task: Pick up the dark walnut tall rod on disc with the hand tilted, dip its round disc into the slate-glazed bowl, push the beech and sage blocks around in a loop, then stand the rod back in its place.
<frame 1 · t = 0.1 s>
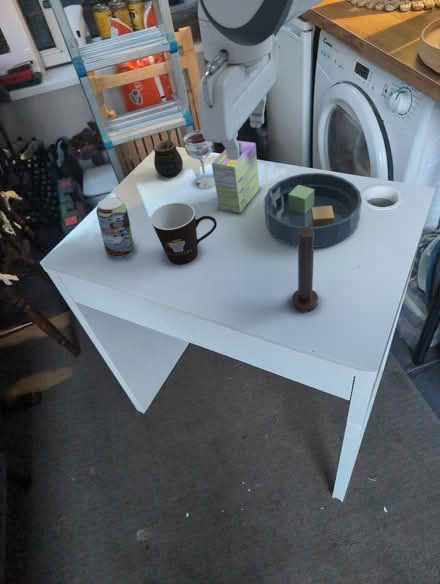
hand: (246, 140, 64), 27 cm above the table, tool pointing down, fingers open, 8 cm apart
wineglass: (205, 182, 108), on the table
tall rod on disc: (305, 302, 77), on the table
box: (239, 199, 101), on the table
beverage can: (124, 250, 94), on the table
bowl: (311, 220, 92), on the table
coffee mug: (189, 256, 90), on the table
beech block: (321, 228, 89), point 1 cm above the table, touching bowl
sage block: (301, 207, 94), point 1 cm above the table, touching bowl
mate gourd: (171, 174, 113), on the table
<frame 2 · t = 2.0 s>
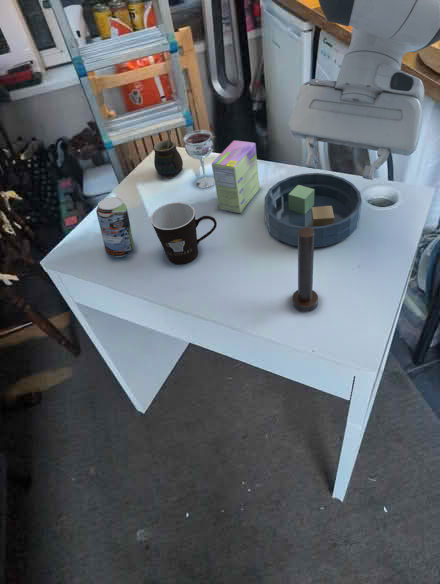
hand: (338, 172, 69), 19 cm above the table, tool tilted 45°, fingers open, 8 cm apart
nothing on the table moved.
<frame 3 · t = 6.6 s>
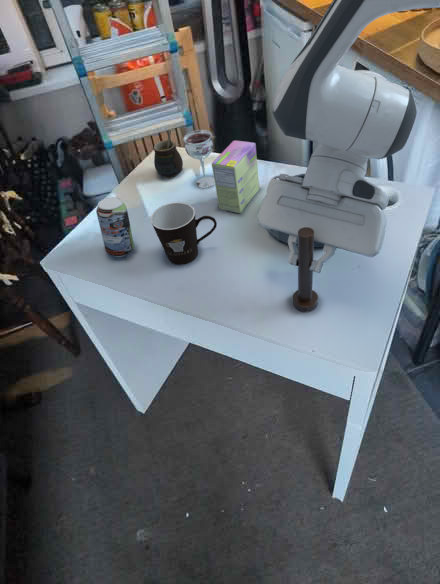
hand: (303, 268, 70), 9 cm above the table, tool tilted 45°, fingers closed on tall rod on disc, 2 cm apart
tall rod on disc: (305, 302, 77), on the table, touching gripper
everything else where it was.
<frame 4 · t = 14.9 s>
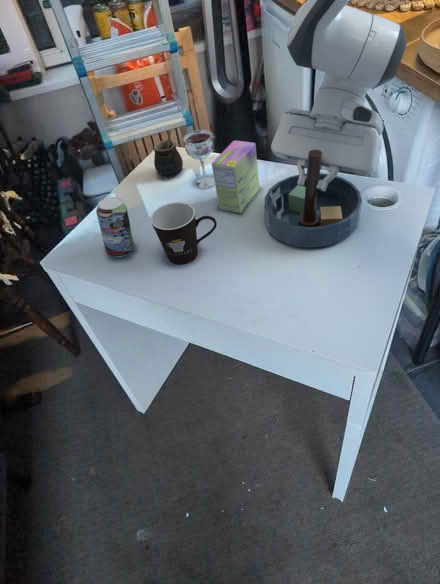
hand: (311, 188, 82), 11 cm above the table, tool tilted 45°, fingers closed on tall rod on disc, 2 cm apart
tall rod on disc: (308, 223, 89), point 2 cm above the table, touching beech block, gripper
beech block: (329, 228, 88), point 1 cm above the table, touching bowl, tall rod on disc
everything else where it was.
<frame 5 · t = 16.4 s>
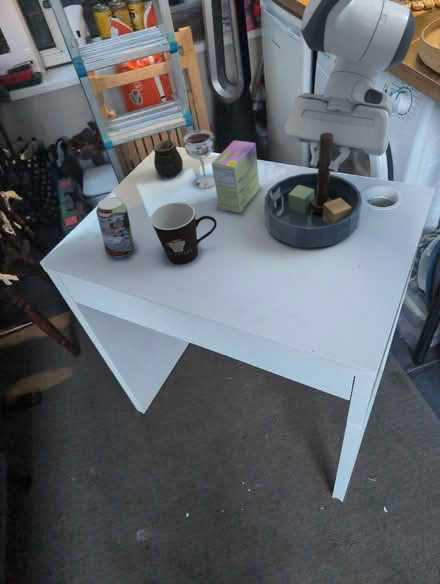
hand: (323, 169, 85), 11 cm above the table, tool tilted 45°, fingers closed on tall rod on disc, 2 cm apart
tall rod on disc: (321, 207, 92), point 2 cm above the table, touching gripper
beech block: (336, 221, 89), point 1 cm above the table, touching bowl
everything else where it was.
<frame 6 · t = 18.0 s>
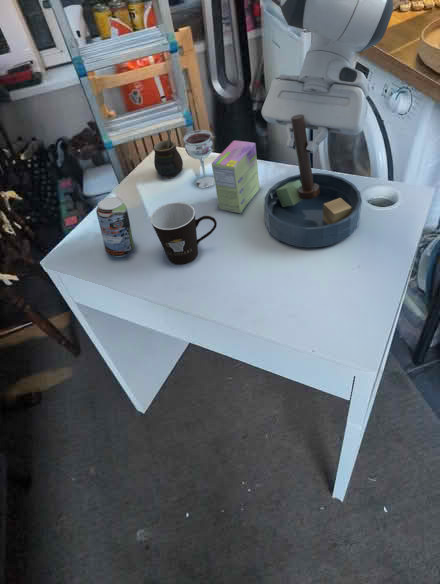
hand: (300, 150, 84), 15 cm above the table, tool tilted 45°, fingers closed on tall rod on disc, 3 cm apart
tall rod on disc: (309, 194, 90), point 5 cm above the table, tilted 12°, touching gripper, sage block
sage block: (294, 202, 93), point 2 cm above the table, tilted 32°, touching bowl, tall rod on disc
everything else where it was.
when the fingers open (10 cm above the table, at t = 25.6 s): tall rod on disc stays where it is, on the table.
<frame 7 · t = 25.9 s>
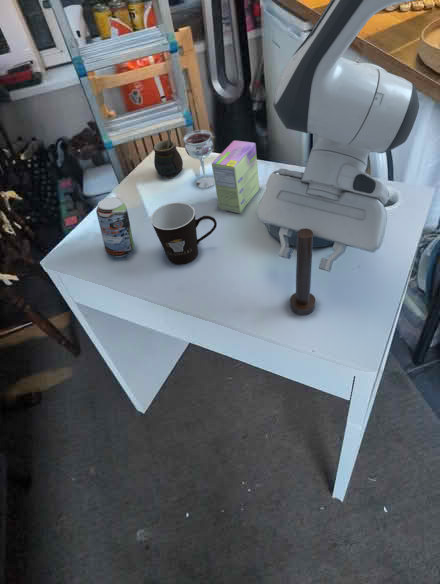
hand: (303, 263, 69), 10 cm above the table, tool tilted 45°, fingers open, 5 cm apart
tall rod on disc: (302, 305, 76), on the table
sage block: (296, 209, 94), point 1 cm above the table, touching bowl
everything else where it was.
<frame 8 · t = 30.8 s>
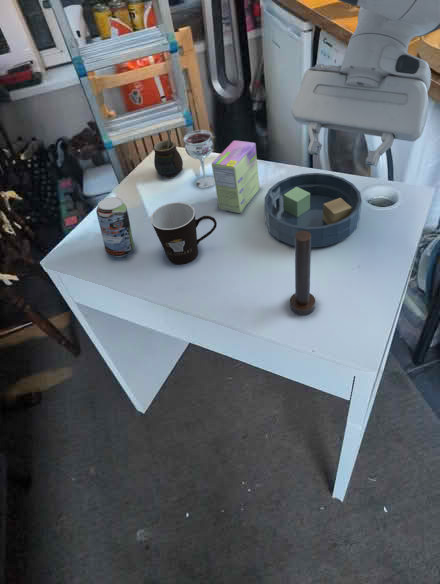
hand: (340, 159, 68), 21 cm above the table, tool tilted 45°, fingers open, 8 cm apart
nothing on the table moved.
at the end: beech block moved 3.6 cm from its start; beech block inside the target area in the bowl (5.3 cm from its centre), point 0.8 cm above the bowl's base; sage block inside the target area in the bowl (4.2 cm from its centre), point 0.8 cm above the bowl's base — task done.
